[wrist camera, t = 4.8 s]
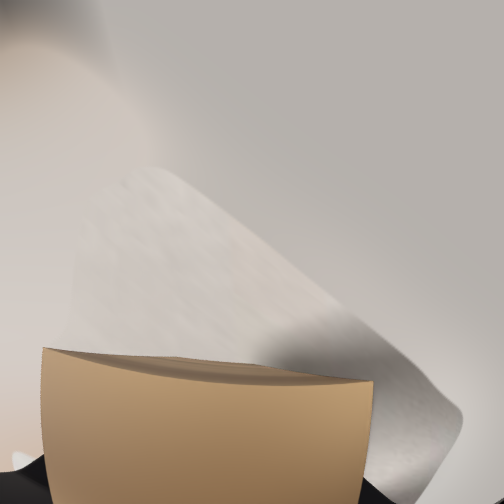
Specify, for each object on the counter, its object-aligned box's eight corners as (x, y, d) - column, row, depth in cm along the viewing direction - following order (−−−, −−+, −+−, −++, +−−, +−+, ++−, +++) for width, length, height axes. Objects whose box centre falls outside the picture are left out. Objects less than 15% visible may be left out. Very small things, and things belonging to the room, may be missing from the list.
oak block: (249, 435, 13) (330, 588, 1) (172, 428, 13) (74, 565, 1) (253, 363, 15) (374, 381, 3) (176, 356, 15) (43, 347, 3)
